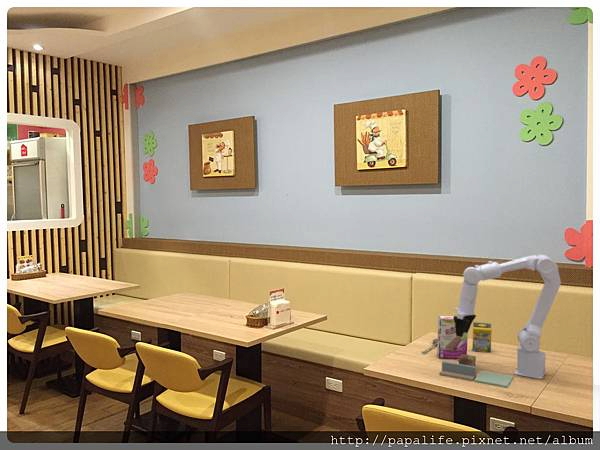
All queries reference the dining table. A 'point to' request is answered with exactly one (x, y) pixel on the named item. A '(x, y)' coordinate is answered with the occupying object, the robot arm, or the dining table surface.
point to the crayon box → (482, 337)
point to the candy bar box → (450, 339)
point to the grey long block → (458, 371)
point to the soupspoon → (431, 346)
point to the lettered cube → (467, 360)
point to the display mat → (494, 379)
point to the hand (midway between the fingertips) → (461, 334)
